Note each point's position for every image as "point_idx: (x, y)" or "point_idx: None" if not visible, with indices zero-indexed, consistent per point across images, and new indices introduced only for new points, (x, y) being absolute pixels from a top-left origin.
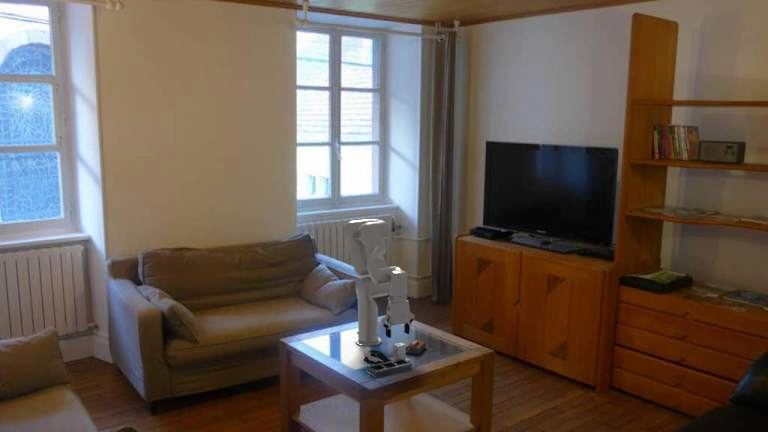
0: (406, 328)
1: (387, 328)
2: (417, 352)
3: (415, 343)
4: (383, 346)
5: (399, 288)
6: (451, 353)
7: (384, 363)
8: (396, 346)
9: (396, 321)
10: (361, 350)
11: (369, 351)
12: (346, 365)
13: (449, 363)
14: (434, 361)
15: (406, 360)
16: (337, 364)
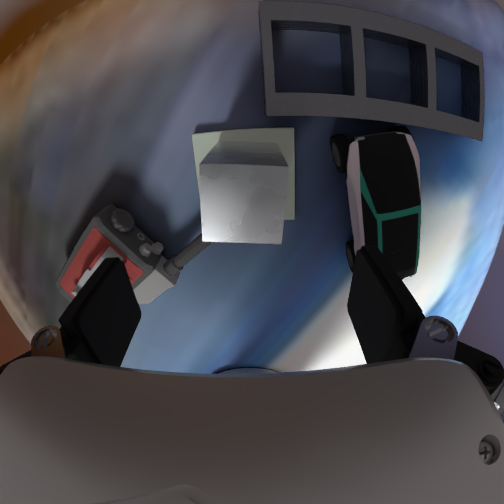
0: (108, 320)
1: (452, 331)
2: (111, 208)
3: (95, 258)
4: (221, 352)
5: None
6: (3, 163)
7: (408, 106)
8: (286, 186)
9: (401, 445)
10: (319, 351)
11: (415, 262)
12: (463, 247)
13: (45, 41)
14: (81, 81)
15: (217, 133)
16: (469, 270)
